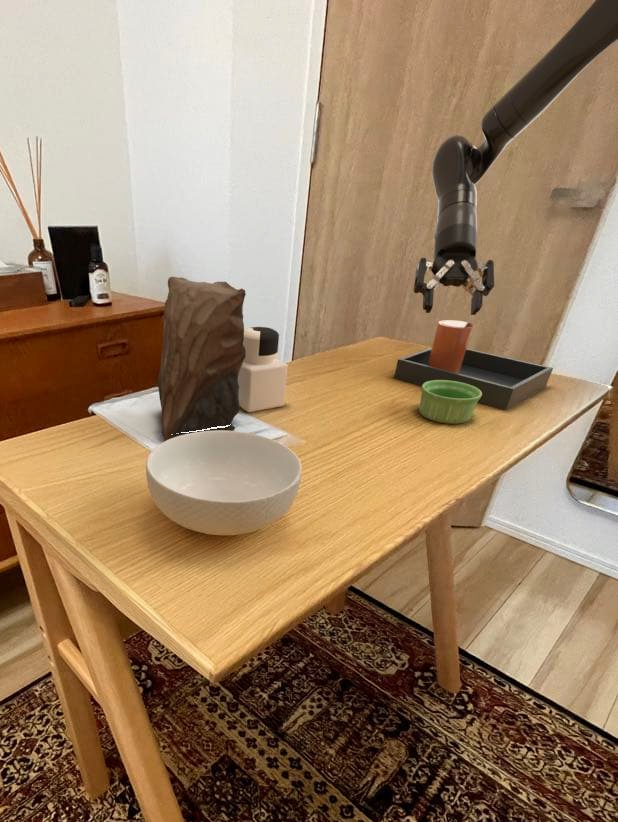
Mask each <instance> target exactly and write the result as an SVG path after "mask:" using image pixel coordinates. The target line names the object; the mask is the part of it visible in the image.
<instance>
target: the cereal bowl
mask: <svg viewBox="0 0 618 822" xmlns="http://www.w3.org/2000/svg"><path fill="white" fill-rule="evenodd" d="M302 473H303V467H302V463H301V460H300V458H299V456H297V454H296V453H295V452H294V451H293V450H291V448H289V447H288V446H286V445H285V444H283V443H281V442H279V441H277V440H275V439H273V438H270V437H267V436H263V435H260V434H256V433H251V432H245V431H238V430H233V431H226V430H217V431H202V432H195V433H189V434H185V435H181V436H177V437H174V438H171V439H169V440H167V441H162V442H161V443H159V444H158V445H156V446H155V447H154V448H153V449H152V450H151V451H150V452H149V454H148V456H147V457H146V461H145V475H146V482H147V487H148V489H149V490H148V492H149V493H150V497H151V499H152V501H153V503H154V504H155V505H156V508H158V509H159V511H160V512H162V515H165V517H167V518H168V519H170V520H171V521H172V522H174V523H176V524H177V525H178V526H181V527H183V528H186V529H188V530H190V531H194V532H197V533H201V534H207V535H216V536H235V535H236V536H237V535H238V536H239V535H244V534H245V535H246V534H249V533H253V532H256V531H260V530H263V529H264V528H265V529H266V528H268V527H269V526H271V525H273V524H274V523H276V522H278V520H280V519H282V517H284V516H285V515H286V514H287V512H288V511H290V509H291V507H293V504H294V502H295V500H296V498H297V496H298V493H299V490H300V485H301V482H302V477H303V475H302Z"/></svg>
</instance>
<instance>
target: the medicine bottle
mask: <svg viewBox="0 0 618 822" xmlns="http://www.w3.org/2000/svg"><path fill="white" fill-rule="evenodd" d="M279 340H280V333H279V332H278V331H277V330H276V329H274V328H271V327H266V326H252V327H248V328H246V329H244V341H243V345H244V347H245V351H246V354H245V356H246V357H245V359H244V361H243V363H242V366H241V369H240V372H239V376H238V384H239V404H240V409H242V410H244V411H245V412H247V413H254V412H258V411H264V410H270V409H275V408H281V407H283V406H284V405H285V397H286V388H287V387H286V386H287V378H288V377H287V376H288V363H286V362H284V361H282V360H280V359H278V353H279V343H280V341H279Z"/></svg>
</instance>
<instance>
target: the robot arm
mask: <svg viewBox="0 0 618 822" xmlns="http://www.w3.org/2000/svg"><path fill="white" fill-rule="evenodd" d="M617 41H618V0H594V1H593V2H592V4H591V5H589V7H588V8H587V9H586V10H585V11H584V13H583V14H582V15H581V16H580V17H579V18H578V19H577V20H576V22H575V23H574V24H573V25H572V26H571V28H569V29H568V31H566V33H565V34H563V36H562V37H561V38H560V39H559V40H558V41H557V42H556V43H555V44H554V45H553V46H552V47H551V48H550V49H549V50H548V51H547V52H546V53H545V55H543V56H542V57H541V58H540V59H539V60H538V61H537V62H536V63H535V64H534V65H533V66H532V67H531V68H530V69H529V70H528V71H527V72H526V73H525V74H523V75H522V77H520V79H519V80H518V81H517V82H515V84H514V85H512V86H511V87H510V88H509V90H507V92H505V93H504V94H503V95H502V96H501V97H500V98H499V99H498V100H497V101H496V102H495V104H493V105H492V106H491V107H490V108H489V110H487V112H486V113H485V114H484V115H483V116H482V118H481V121H480V128H481V133H482V134H483V137H484V139H483V140H482V142H481V144H480V145H479V146H478V147H476V146H475V145H474V144H473V143H472V142H471V141H470V140H469V139H468V138H467V137H465V136H464V135H462V134H454V135H451V136H449V137H448V138H446V139H445V140H444V141H443V142H442V143H441V144H440V146H439V147H438V149H437V151H436V152H435V154H434V158H433V160H432V168H431V169H432V170H431V171H432V180H433V185H434V190H435V194H436V197H437V198H436V199H437V202H438V205H437V220H436V225H435V233H434V237H433V238H434V248H433V249H434V251H433V261H427V258H426V257H421V258H420V259H419V262H418V264H417V266H416V269H415V277H414V284H413V293H415V294H421V295H422V309H423V310H424V311H425V314H430V313H431V312H432V309H433V307H434V292H435V290H436V289H437V288H438V287H439V286H440V285H442V287H451V286H452V287H457V288H458V287H462V288H463V289H464V291H465V292H468V294H470V295H471V299H470V300H471V301H470V315H471V316H476V315H477V313H479V312H480V310H481V309H482V307H483V297H487V296H489V294H490V293H491V292H492V290H493V289H494V287H495V263H494V261H493V260H492V259H489V260H487V262H483V263H482V262H481V263H479V262H478V261H477V241H478V216H477V209H478V208H477V206H478V205H477V204H478V203H477V202H478V189H477V186H476V185H477V184H478V183H479V182H480V181H481V180H482V178H484V176H485V174H486V173H487V172H488V171H489V169H490V168H491V166H492V165H493V164H494V163H495V162H496V160H497V159H498V157H499V156H500V155H501V153H502V152H503V151H504V149H505V148H506V147H507V146H508V145H509V144H510V143H511V141H513V140H514V139H515V138H516V137H517V136H518V135H520V134H521V132H523V131H524V130H525V129H526V128H527V127H528V126H529V125H531V124H532V123H533V122H534V121H535V120H536V119H537V118H539V116H540V115H542V113H543V112H544V111H545V110H546V109H548V107H549V106H550V105H551V104H552V103H553V102H554V101H555V100H556V99H557V98H558V97H559V96H560V95H561V93H563V91H564V90H565V89H566V88H567V87H568V86H569V85H570V84H571V82H572V81H574V79H576V77H578V75H580V73H581V72H583V70H585V69H586V68H587V67H588V66H589V65H590V64H591V63H592V62H593V61H594V60H595V59H596V58H597V57H598V56H599V55H601V54H602V53H603V52H604V51H605V50H607V49H608V48H610V46H612V44H614V43H616V42H617ZM429 270H430V271H431V273H432V274H433V278H432V279H431V280H430V281H429V282H427V283H426V282H425V276H426V274H428V271H429ZM476 272H478V274H477V273H476ZM479 277H480V278H481V281H480V278H479Z"/></svg>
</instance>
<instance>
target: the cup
mask: <svg viewBox="0 0 618 822" xmlns="http://www.w3.org/2000/svg"><path fill="white" fill-rule="evenodd" d="M473 330H474V324H473V323H471V322H467V321H463V320H455V319H454V320H453V319H448V320H447V319H444V320H443V319H442V320H439V321H438V323H437V326H436V330H435V333H434V338H433V342H432V345H431V347H432V348H431V347H430V348H431V352H430V356H429V360H428V364H427V366H431V367H435V368H439V369H443V370H447V371H451V372H454V373H458V374H459V373H460V369H461V366H462V363H463V360H464V356H465V353H466V350H467V349H468V347H469V343H470V340H471V337H472V333H473Z"/></svg>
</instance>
